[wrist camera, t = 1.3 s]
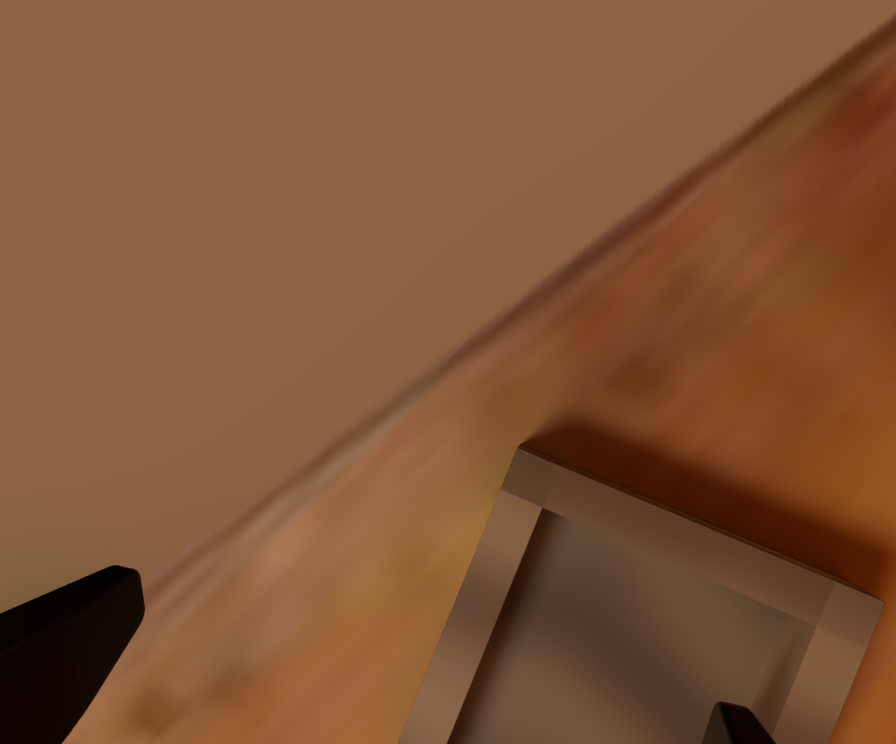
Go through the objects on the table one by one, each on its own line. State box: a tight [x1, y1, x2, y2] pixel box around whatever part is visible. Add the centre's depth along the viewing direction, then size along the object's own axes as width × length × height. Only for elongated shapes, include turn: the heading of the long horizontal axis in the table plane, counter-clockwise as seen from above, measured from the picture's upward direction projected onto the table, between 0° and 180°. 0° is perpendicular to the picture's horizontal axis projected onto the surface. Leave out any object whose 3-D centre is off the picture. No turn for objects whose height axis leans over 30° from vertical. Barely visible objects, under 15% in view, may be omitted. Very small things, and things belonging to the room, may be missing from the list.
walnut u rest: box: [398, 444, 886, 744], centre depth 21 cm, size 12×12×2 cm
